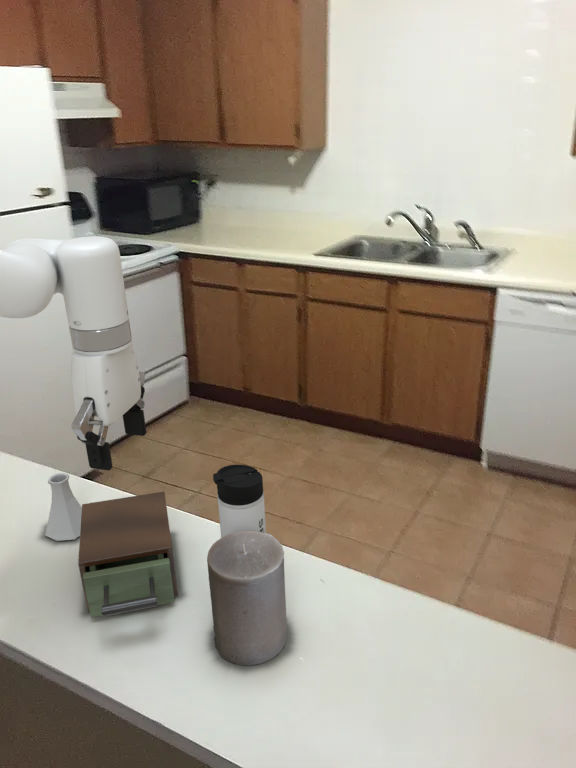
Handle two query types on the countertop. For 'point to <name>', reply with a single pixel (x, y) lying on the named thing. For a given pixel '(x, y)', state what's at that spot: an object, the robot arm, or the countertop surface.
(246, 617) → the pillar candle
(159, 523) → the cabinet
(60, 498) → the flask
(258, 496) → the travel mug
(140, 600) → the bin drawer
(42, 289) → the robot arm
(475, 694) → the countertop surface
